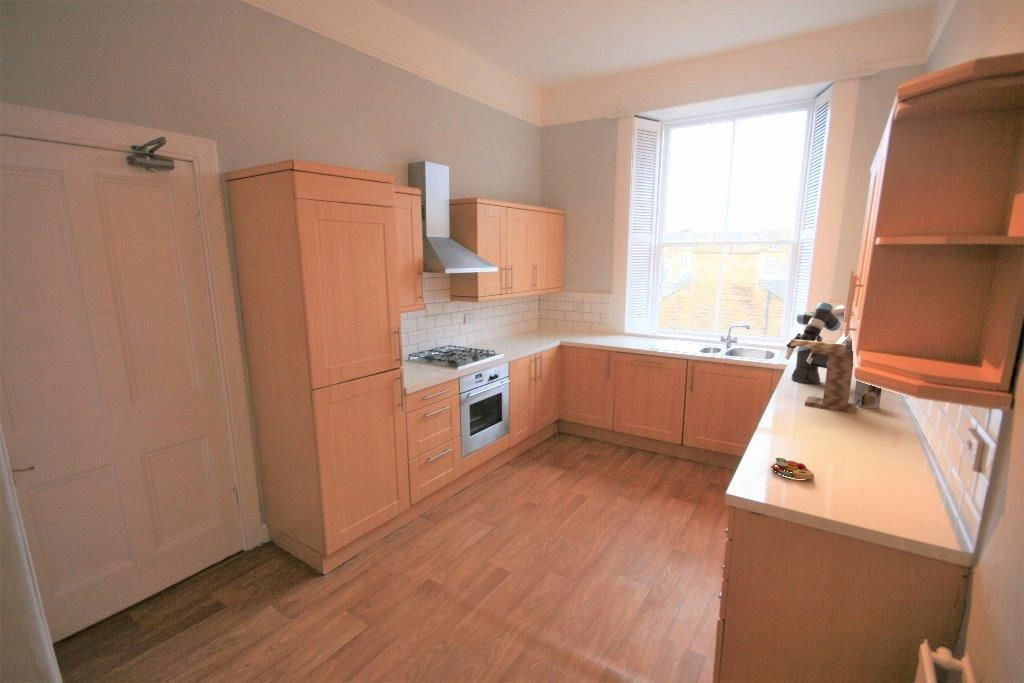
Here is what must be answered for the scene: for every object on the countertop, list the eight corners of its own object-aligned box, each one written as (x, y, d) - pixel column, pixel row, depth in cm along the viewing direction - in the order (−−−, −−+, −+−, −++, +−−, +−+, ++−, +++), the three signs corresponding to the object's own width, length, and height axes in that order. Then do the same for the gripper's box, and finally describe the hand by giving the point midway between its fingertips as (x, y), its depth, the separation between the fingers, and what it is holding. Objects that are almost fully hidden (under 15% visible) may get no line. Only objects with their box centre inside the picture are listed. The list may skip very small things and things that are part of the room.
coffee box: (871, 404, 241) (875, 374, 238) (879, 408, 235) (883, 377, 232) (852, 403, 242) (856, 374, 239) (860, 407, 236) (864, 377, 233)
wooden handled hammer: (789, 346, 242) (790, 335, 241) (792, 343, 250) (793, 332, 249) (859, 353, 223) (861, 341, 222) (861, 350, 231) (863, 338, 230)
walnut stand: (804, 405, 241) (811, 349, 235) (808, 399, 250) (814, 345, 244) (854, 413, 227) (862, 354, 222) (856, 407, 236) (864, 350, 231)
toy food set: (814, 486, 157) (815, 477, 157) (770, 477, 164) (771, 468, 163) (811, 470, 169) (812, 462, 168) (770, 462, 175) (771, 454, 174)
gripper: (790, 323, 272) (774, 354, 270) (831, 326, 248) (813, 360, 247) (798, 329, 274) (782, 360, 273) (839, 333, 251) (822, 367, 249)
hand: (797, 360), depth 260 cm, fingers open, 13 cm apart
